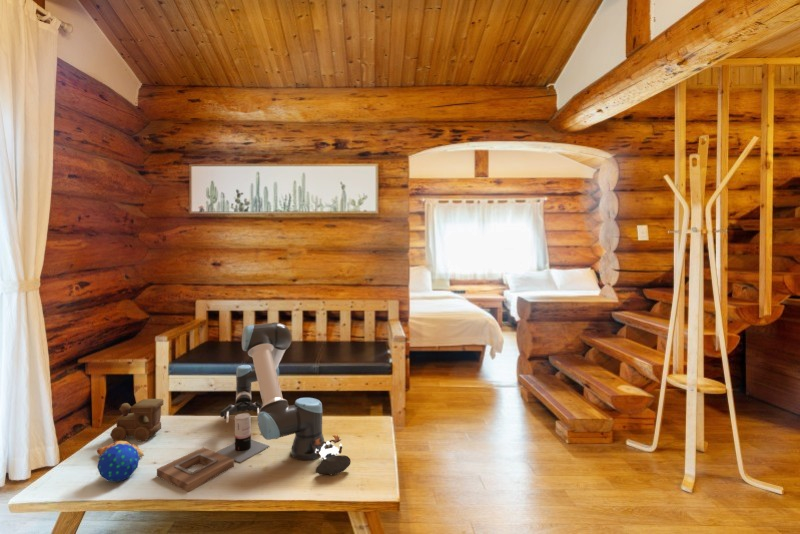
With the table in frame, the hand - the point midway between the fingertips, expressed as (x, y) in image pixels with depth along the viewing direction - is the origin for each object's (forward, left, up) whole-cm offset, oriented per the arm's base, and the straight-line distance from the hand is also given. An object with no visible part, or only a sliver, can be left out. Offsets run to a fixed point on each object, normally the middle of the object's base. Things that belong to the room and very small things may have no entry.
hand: (243, 417), depth 189 cm
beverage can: (-7, +6, -10) cm, 14 cm away
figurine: (-49, -4, -11) cm, 51 cm away
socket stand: (-5, +27, -11) cm, 30 cm away
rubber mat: (-7, +6, -11) cm, 14 cm away
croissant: (+33, +37, -11) cm, 51 cm away
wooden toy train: (+46, +23, -11) cm, 52 cm away
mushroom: (+17, +45, -11) cm, 49 cm away
